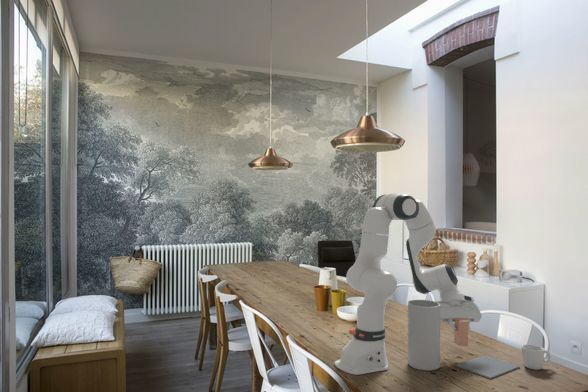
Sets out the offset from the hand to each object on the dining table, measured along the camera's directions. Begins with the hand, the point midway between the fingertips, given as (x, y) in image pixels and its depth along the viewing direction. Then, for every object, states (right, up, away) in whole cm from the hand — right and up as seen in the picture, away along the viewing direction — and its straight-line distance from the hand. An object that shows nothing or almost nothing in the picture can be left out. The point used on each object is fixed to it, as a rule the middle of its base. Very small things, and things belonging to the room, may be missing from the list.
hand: (461, 330), depth 178 cm
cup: (+26, -12, -8) cm, 30 cm away
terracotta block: (0, -6, +1) cm, 6 cm away
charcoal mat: (+7, -12, -8) cm, 16 cm away
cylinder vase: (-18, -12, -6) cm, 23 cm away
